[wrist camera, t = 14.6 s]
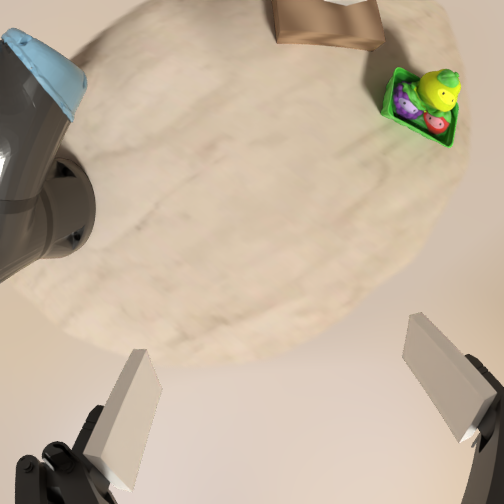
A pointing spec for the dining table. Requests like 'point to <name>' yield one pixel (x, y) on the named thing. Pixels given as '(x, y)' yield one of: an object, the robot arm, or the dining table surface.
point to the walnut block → (328, 23)
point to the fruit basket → (424, 103)
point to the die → (345, 1)
